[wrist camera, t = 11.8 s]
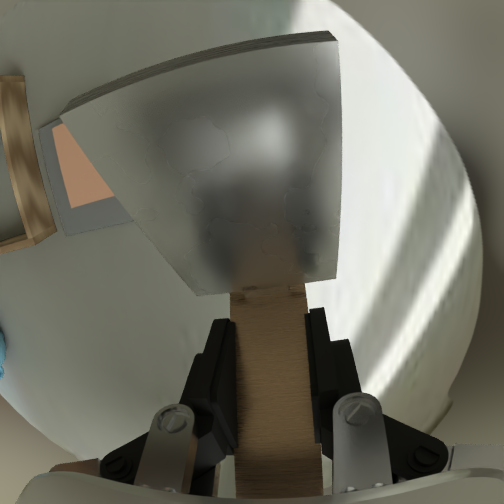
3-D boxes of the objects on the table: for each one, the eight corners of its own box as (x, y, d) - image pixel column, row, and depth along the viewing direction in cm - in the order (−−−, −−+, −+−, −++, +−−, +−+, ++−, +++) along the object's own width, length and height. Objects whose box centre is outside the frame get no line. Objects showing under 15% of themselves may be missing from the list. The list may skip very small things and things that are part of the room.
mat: (206, 205, 27) (204, 207, 26) (69, 234, 29) (66, 236, 28) (178, 72, 22) (175, 71, 22) (41, 128, 25) (38, 129, 24)
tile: (131, 191, 24) (110, 101, 21) (71, 208, 25) (52, 128, 22) (139, 187, 26) (120, 102, 23) (81, 203, 27) (62, 127, 24)
